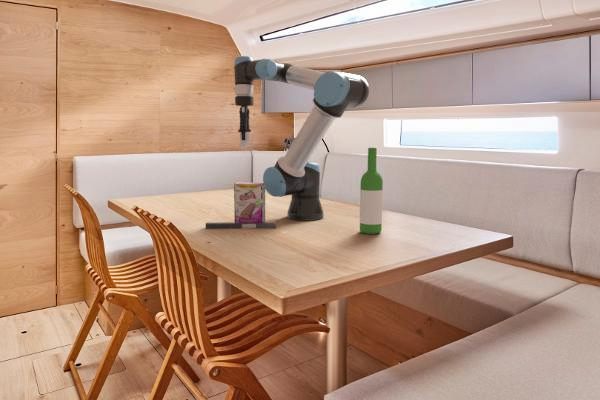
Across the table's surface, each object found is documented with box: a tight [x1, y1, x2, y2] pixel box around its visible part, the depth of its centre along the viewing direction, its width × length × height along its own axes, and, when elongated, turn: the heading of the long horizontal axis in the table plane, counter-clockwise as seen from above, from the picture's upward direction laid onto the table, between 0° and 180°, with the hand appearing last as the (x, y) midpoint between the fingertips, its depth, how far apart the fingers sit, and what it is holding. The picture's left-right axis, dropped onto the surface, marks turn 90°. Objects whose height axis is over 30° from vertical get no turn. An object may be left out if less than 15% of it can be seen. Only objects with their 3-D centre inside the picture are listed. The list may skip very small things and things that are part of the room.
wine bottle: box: [359, 147, 384, 235], centre depth 164 cm, size 8×8×30 cm
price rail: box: [205, 221, 277, 230], centre depth 173 cm, size 26×2×2 cm, turn 92°
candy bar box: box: [233, 181, 266, 222], centre depth 177 cm, size 11×5×16 cm, turn 81°
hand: (245, 148), depth 194 cm, fingers open, 13 cm apart
